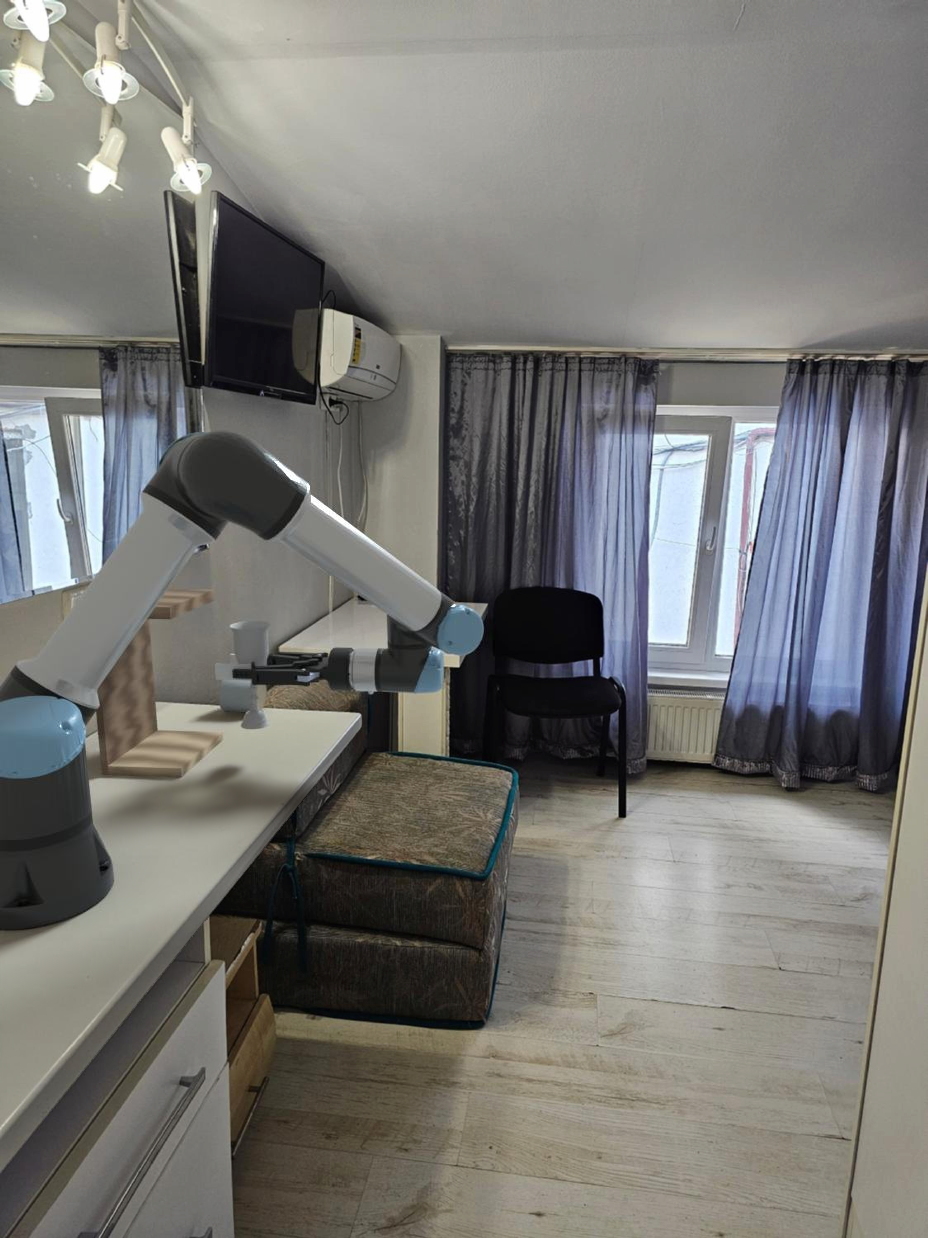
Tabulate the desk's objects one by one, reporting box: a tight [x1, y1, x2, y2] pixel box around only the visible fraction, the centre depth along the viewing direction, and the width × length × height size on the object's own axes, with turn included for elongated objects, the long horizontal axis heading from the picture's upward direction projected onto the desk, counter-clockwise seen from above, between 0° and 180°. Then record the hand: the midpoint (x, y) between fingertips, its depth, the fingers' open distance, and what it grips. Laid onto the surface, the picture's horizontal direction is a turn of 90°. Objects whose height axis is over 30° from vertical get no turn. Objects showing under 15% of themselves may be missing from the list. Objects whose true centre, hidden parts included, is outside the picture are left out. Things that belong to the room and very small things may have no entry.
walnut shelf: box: [95, 588, 224, 778], centre depth 135 cm, size 18×14×29 cm
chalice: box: [229, 620, 271, 730], centre depth 134 cm, size 7×7×18 cm
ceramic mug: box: [218, 680, 268, 713], centre depth 164 cm, size 11×8×8 cm
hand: (223, 666), depth 134 cm, fingers closed on chalice, 6 cm apart
